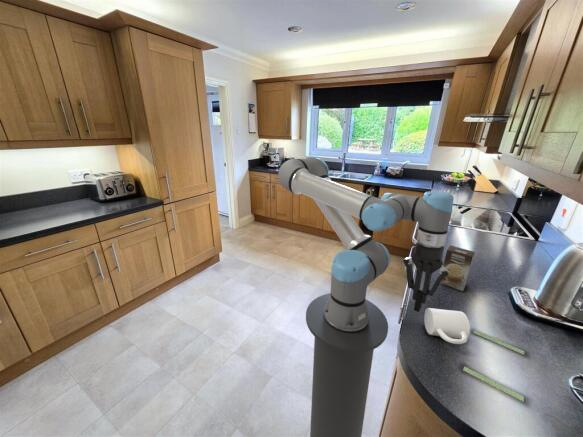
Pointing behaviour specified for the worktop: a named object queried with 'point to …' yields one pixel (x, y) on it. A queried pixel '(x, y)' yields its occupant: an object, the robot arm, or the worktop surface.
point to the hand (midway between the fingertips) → (417, 309)
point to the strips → (491, 380)
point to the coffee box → (457, 267)
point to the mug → (447, 324)
